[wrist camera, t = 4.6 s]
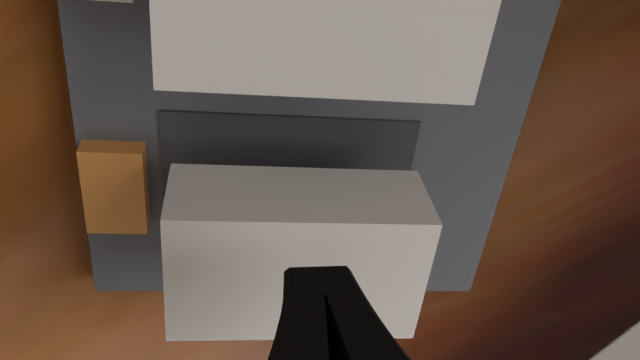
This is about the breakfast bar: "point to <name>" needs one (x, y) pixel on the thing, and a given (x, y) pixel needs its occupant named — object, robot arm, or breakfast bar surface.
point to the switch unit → (281, 137)
